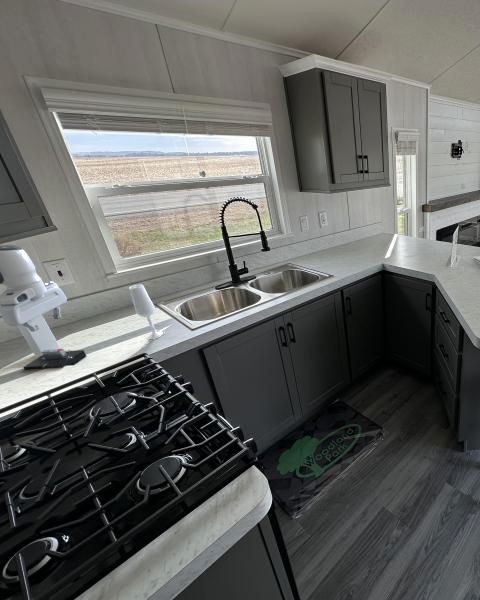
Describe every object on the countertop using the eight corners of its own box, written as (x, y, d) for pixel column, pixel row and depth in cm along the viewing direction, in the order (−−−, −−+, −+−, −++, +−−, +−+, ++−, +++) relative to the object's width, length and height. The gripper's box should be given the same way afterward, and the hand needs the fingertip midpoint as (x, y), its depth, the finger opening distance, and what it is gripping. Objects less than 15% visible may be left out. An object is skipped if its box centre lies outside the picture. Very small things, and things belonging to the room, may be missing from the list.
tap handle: (45, 359, 126) (40, 351, 124) (49, 357, 127) (44, 349, 126) (64, 358, 126) (59, 350, 124) (67, 356, 127) (63, 348, 126)
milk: (34, 355, 134) (5, 307, 125) (52, 347, 140) (25, 301, 130) (44, 357, 133) (14, 309, 123) (62, 349, 138) (35, 302, 128)
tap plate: (25, 374, 123) (21, 367, 121) (52, 357, 133) (48, 350, 131) (63, 372, 123) (59, 365, 122) (87, 355, 133) (84, 348, 132)
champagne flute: (159, 339, 143) (139, 289, 133) (143, 340, 143) (121, 290, 132) (168, 331, 149) (149, 282, 139) (152, 332, 149) (132, 283, 138)
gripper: (45, 279, 125) (62, 311, 131) (-12, 302, 107) (10, 338, 113) (62, 279, 126) (78, 311, 132) (8, 301, 107) (30, 337, 113)
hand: (46, 324), depth 122 cm, fingers open, 8 cm apart
